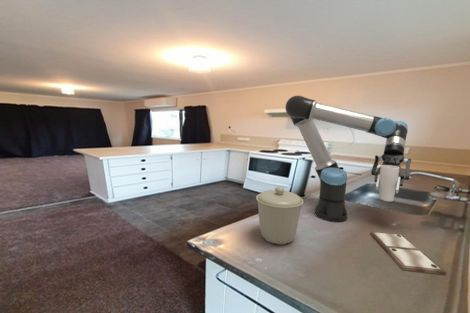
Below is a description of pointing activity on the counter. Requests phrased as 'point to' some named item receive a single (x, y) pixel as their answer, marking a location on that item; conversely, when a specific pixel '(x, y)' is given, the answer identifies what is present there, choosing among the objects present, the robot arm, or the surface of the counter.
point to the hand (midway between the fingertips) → (386, 189)
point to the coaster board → (406, 253)
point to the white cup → (388, 182)
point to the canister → (279, 215)
